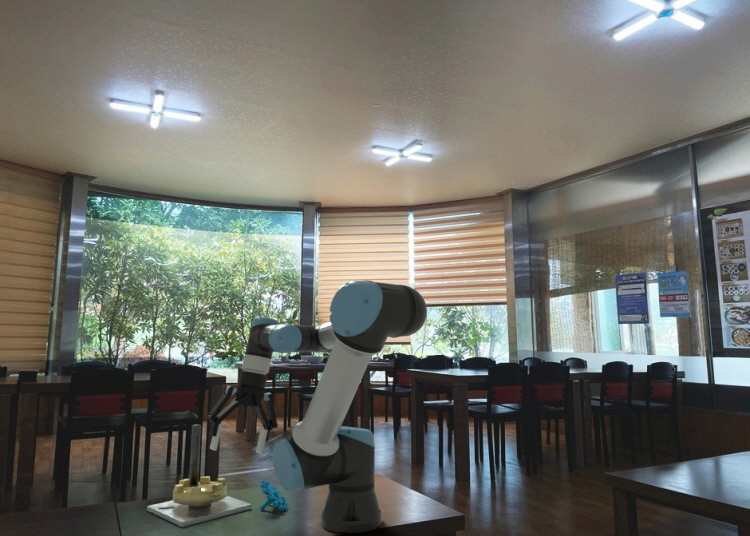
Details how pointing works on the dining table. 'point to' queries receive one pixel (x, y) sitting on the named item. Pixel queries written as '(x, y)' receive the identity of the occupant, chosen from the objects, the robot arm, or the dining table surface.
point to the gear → (273, 496)
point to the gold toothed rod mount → (191, 488)
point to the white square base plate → (197, 511)
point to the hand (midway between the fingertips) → (236, 451)
